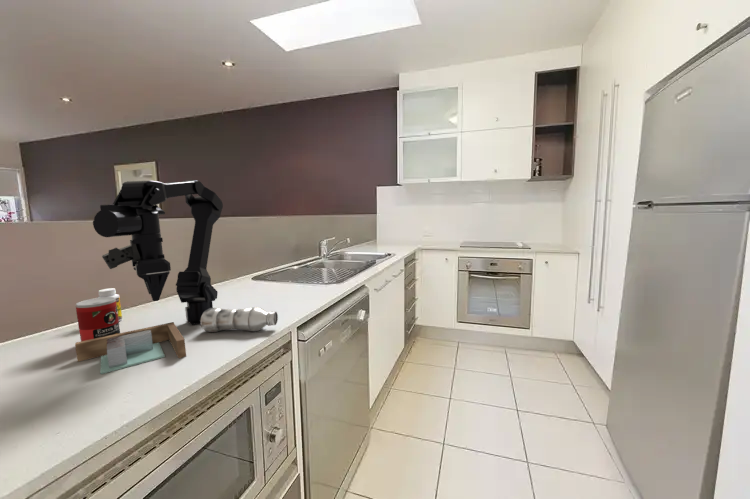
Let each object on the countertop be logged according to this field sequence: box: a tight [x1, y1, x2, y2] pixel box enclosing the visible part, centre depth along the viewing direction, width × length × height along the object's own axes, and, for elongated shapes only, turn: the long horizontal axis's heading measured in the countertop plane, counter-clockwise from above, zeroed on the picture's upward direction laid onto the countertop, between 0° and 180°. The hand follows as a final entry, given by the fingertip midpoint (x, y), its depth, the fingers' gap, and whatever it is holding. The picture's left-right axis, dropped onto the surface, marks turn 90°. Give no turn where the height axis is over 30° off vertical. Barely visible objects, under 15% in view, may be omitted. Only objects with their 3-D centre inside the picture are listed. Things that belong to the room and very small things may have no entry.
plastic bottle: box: [200, 306, 279, 333], centre depth 86 cm, size 6×7×20 cm
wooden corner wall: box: [74, 321, 187, 362], centre depth 71 cm, size 19×16×4 cm
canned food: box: [75, 297, 121, 342], centre depth 80 cm, size 8×8×11 cm
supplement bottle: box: [96, 287, 123, 322], centre depth 96 cm, size 6×6×10 cm
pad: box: [100, 342, 165, 375], centre depth 71 cm, size 11×10×1 cm
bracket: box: [107, 330, 153, 368], centre depth 71 cm, size 8×8×4 cm
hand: (153, 297), depth 77 cm, fingers open, 9 cm apart
